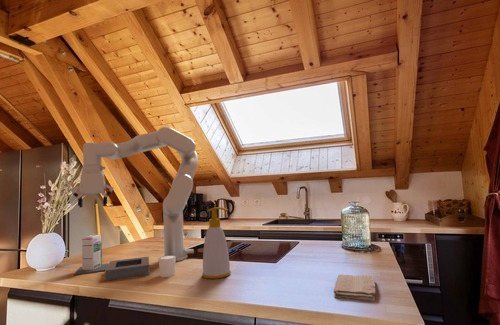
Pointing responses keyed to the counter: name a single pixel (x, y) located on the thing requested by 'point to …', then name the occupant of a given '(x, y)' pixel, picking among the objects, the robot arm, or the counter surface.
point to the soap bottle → (215, 249)
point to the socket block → (127, 268)
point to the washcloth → (355, 287)
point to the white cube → (167, 266)
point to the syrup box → (91, 252)
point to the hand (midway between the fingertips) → (92, 206)
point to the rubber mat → (100, 269)
